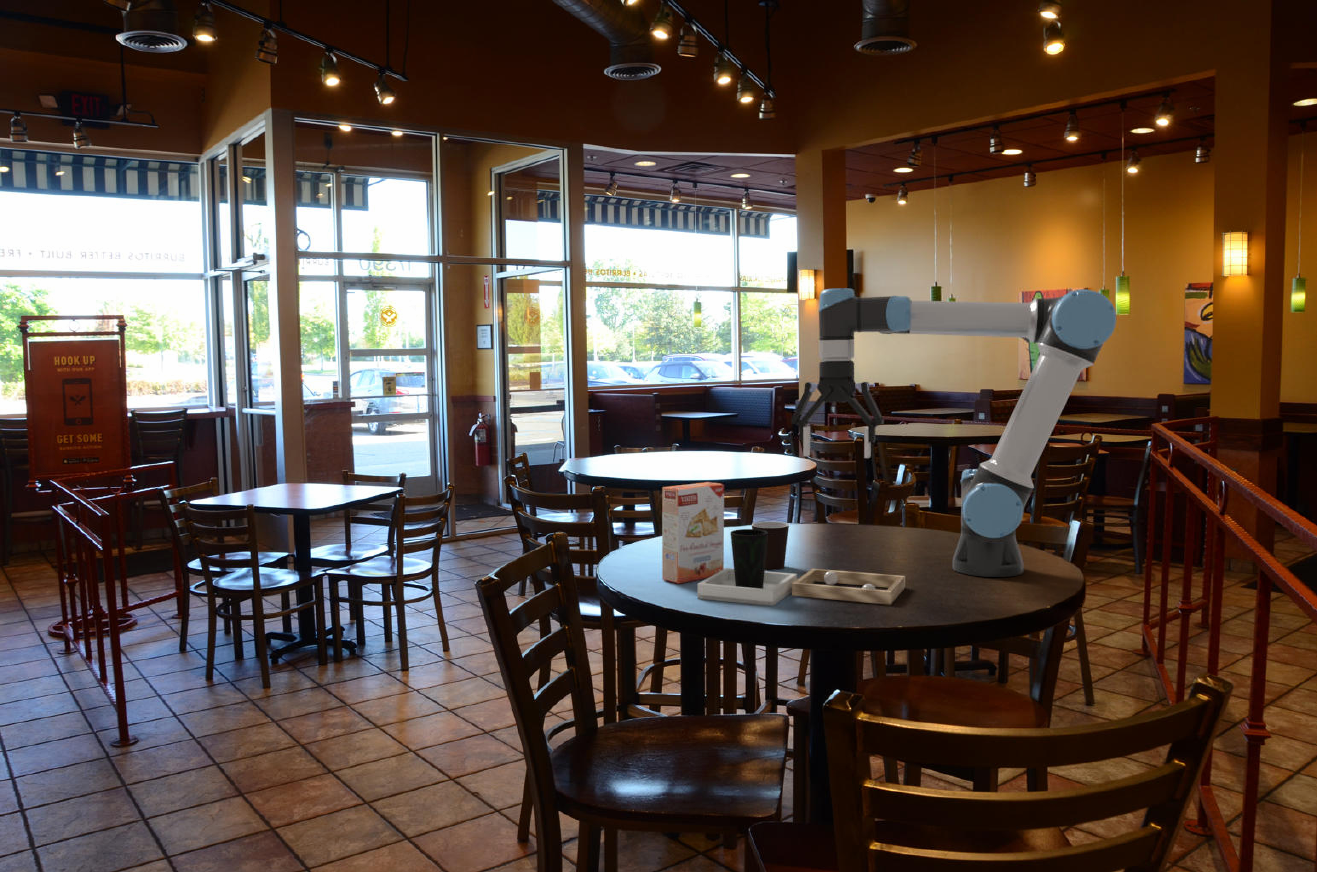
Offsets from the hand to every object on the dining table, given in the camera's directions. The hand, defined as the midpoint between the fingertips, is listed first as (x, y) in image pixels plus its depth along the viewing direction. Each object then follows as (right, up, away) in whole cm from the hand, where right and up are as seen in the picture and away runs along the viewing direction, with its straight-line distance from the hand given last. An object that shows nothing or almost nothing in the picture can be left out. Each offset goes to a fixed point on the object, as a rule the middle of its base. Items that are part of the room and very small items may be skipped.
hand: (836, 456), depth 210 cm
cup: (-20, -27, -12) cm, 36 cm away
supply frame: (0, -28, -12) cm, 30 cm away
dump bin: (-21, -28, -12) cm, 37 cm away
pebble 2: (+3, -28, -18) cm, 34 cm away
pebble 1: (-2, -27, -6) cm, 28 cm away
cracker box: (-31, -27, +3) cm, 42 cm away
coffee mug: (-13, -26, +14) cm, 32 cm away
